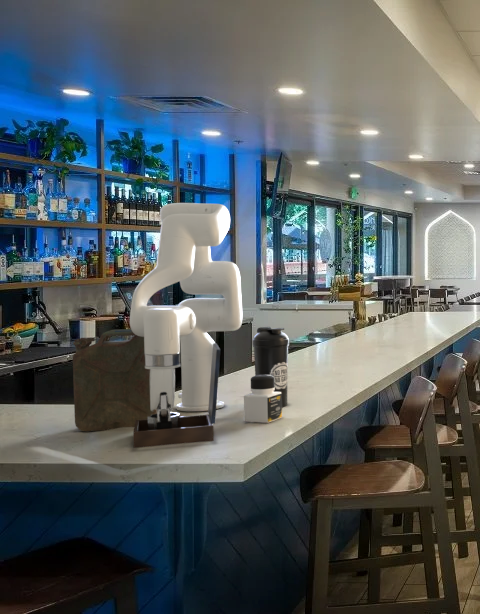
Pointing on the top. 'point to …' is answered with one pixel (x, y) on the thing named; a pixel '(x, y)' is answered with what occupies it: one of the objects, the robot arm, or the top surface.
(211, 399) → the lid
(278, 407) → the medicine bottle
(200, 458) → the top surface
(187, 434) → the brown tray
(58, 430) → the top surface
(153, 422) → the grey octagonal hollow piece
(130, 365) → the canister
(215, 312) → the robot arm
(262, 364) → the water bottle
